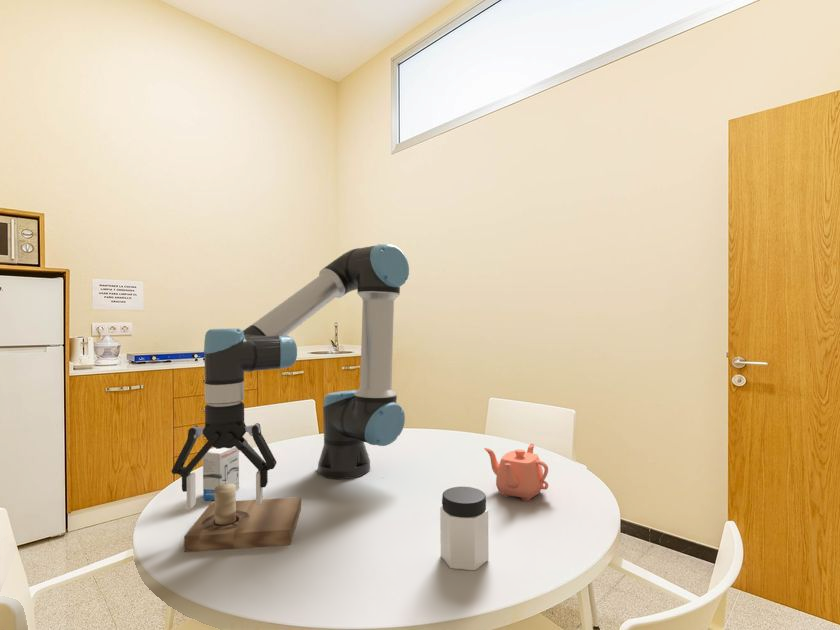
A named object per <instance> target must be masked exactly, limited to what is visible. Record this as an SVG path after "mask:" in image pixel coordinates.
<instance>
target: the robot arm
mask: <svg viewBox="0 0 840 630" xmlns="http://www.w3.org/2000/svg"><path fill="white" fill-rule="evenodd" d="M409 275H410V266H409V262H408V258H407V257H406V255H405V254H404V253H403V251H402V250H401V249H400V248H399V247H398V246H396V245H394V244H390V243H387V244H384V243H383V244H375V245H372V246H371V245H370V246H365V247H359V248H357V247H356V248H353V249H350V250H348V251H346V252H344V253H343V254H342V255H340V256H339V257H337V258H336V259H334V260H333V261H331V262H330V263H328V265H325V266H324V267H323V268H322V269H320V271H319V274H318V276H317V277H316V278H314V279H313V280H311V281H309V283H307V284H305V286H303V287H302V288H301V289H299V290H298V291H296V292H294V293H293V294H292V295H291V296H289V297H288V298H287V299H285V300H283V302H281V303H280V304H278V305H276V307H274V308H273V309H271V310H270V311H268V312H267V313H266V314H264V315H263V316H262V317H260V318H259V319H258V320H256V321H254V322H253V323H252V324H251V325H249V326H247V327H246V328H245V329H244V330H243V329H242V328H211V329H209V330H207V331H206V332H205V334H204V343H203V344H204V346H203V353H204V402H205V403H206V405H205V406H204V423H205V424H204V427H200V426H198V425H193V426H192V427H190V428H189V429H188V431H187V439H186V441H185V442H184V445H183V447H182V449H181V451H180V452H179V455H178V457H177V459H176V461H175V463H174V465H173V467H172V469H171V474H173V475H179V476H180V477H181V491H182V492H184V493H185V492H186V510H192V509H193V507H194V506H195V504H196V503H197V502H196V494H197V493H196V472H192V471H193V470H194V468H195V467H196V466H197V465H198V464H199V462H201V460H203V457H204V455H205V454H206V453H207V452H208V451H209V450H210V449H211V448H214V447H215V448H216V449H221V448H232V447H234V446H235V447H236V448H237V449H238V450H239V452H241V453H242V454H243V455H244V456H245V457H246V458H247V459H248V461H249V462H250V463H251V464H252V465H253V466H254V467H255V468H256V469H257V471H256V474H255V500H256V505H260V504H261V502H262V500H263V499H264V496H263V495H264V493H263V492H264V491H263V490H264V488H266V487H267V485H268V482H269V480H268V471H270V470H274V468H275V467H276V465H277V460H276V458H275V457H274V456H275V455H273V452H272V451H271V449H270V447H269V444H268V443H267V442H266V440H265V437H264V435H263V434H262V430H261V429H262V427H261V424H260V423H258V422H257V423H255V424H252V425H246V423H245V403H244V402H243V400H244V399H245V373H249V372H250V373H251V372H257V371H259V372H260V371H268V370H282V369H285V368H286V369H287V368H291V367H292V366H294V364H295V363H296V360H297V357H298V346H297V344H296V341H295V339H294V338H293V337H292V336H289V334H291V333H292V332H293V331H294V330H296V329H297V328H298V327H300V326H301V325H302V324H303V323H305V322H306V321H307V320H308V319H310V318H312V317H313V316H314V315H315V314H317V312H319V311H320V310H321V309H323V308H324V307H325V306H327V305H328V304H329V303H330V302H332V301H333V300H334V299H335V298H338V299H339V298H340V299H341V298H343V297H344V296H345V295H346V294H348V293H350V292H352V291H356V290H357V295H358V296H359V297H360V298H361V299H362V308H361V309H362V312H361V313H362V315H361V342H360V343H361V346H360V355H361V356H360V375H359V376H360V378H359V387H358V389H353V390H352V389H350V390H342V391H336V392H335V391H334V392H330V393H327V394H325V396H324V398H323V406H322V409H323V446H322V449H321V454H320V457H319V460H318V462H317V473H318V475H320V476H322V477H324V478H328V479H335V480H336V479H337V480H338V479H342V480H343V479H352V478H357V477H360V476H363V475H365V474H368V472H370V469H371V460H370V457H369V453H368V451H367V448H366V444H365V443H367V444H369V445H371V446H379V447H384V446H385V447H386V446H389V445H390V444H392V443H394V442H395V441H396V440H398V439H397V438H398V437H400V436H401V434H402V432H403V429H404V426H405V424H406V423H405V421H406V415H405V411H404V409H403V408H402V406H401V405H400V404H398V402H397V398H398V396H397V392H396V391H395V390H394V389H393V387H392V382H393V381H392V380H393V379H392V378H393V349H394V347H393V345H394V312H395V310H394V309H395V300H396V299H397V298H398V297H400V295H401V294H400V293H401V287H402V286H403V285H404V284H405V283H406V281H407V280H408V279H409ZM246 433H248V434H249V436H251V437H252V438H253V441H254V444H255V445H256V447H257V449H258V451H259V452H260V454H261V456H262V457H263V458H262V457H261V456H260V454H258V452H257V451H255V449H254V448H253V447H252V446H251V445H250V444H249V443H248V440H247V439H246V438H245V437H244V435H245V434H246ZM202 435H203V437H204V438H205V439H206V440H207V441H206V443H205V444H204V445H203V446H202V447H201V449H200V450H199V451H198V452H197V454H196V455H194V457H193V458H192V459H191V460H190V462H189V463H187V465H186V466H184V465H185V463H186V462H187V459H188V458H189V455H190V453H191V452H192V449H193V448H194V445H195V443H196V442H197V440H198V439H199V438H200V437H201V436H202Z"/></svg>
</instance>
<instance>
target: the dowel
mask: <svg viewBox="0 0 840 630" xmlns="http://www.w3.org/2000/svg"><path fill="white" fill-rule="evenodd" d="M236 491H237V490H236V485H235V484H231V483H228V484H222V485H219V486H217V487H215V500H214V502H215V526H227V525H231V524H234V523H235V522H236V501H237V497H236V496H237V495H236V494H237V493H236Z"/></svg>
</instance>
